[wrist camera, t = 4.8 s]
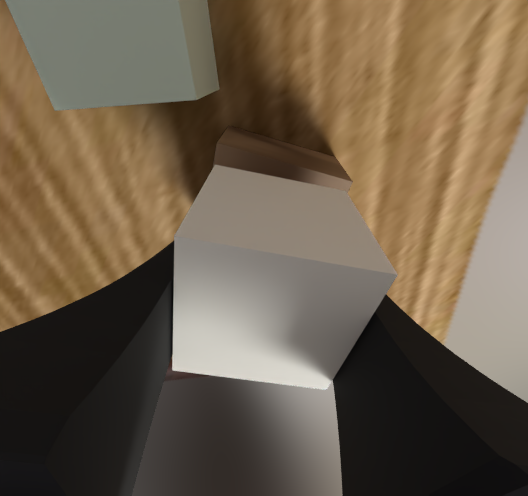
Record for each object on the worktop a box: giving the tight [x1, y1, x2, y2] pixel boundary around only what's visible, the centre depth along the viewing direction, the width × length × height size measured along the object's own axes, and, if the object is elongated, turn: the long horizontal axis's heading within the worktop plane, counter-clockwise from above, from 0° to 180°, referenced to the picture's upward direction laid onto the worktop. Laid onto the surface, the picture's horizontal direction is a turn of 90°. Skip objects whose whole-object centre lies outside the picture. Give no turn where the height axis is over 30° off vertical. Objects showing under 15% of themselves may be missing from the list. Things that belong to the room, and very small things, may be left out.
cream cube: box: [172, 165, 398, 390], centre depth 9 cm, size 5×5×5 cm
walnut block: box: [213, 126, 353, 193], centre depth 15 cm, size 6×6×4 cm
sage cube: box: [5, 0, 219, 111], centre depth 10 cm, size 5×5×5 cm
